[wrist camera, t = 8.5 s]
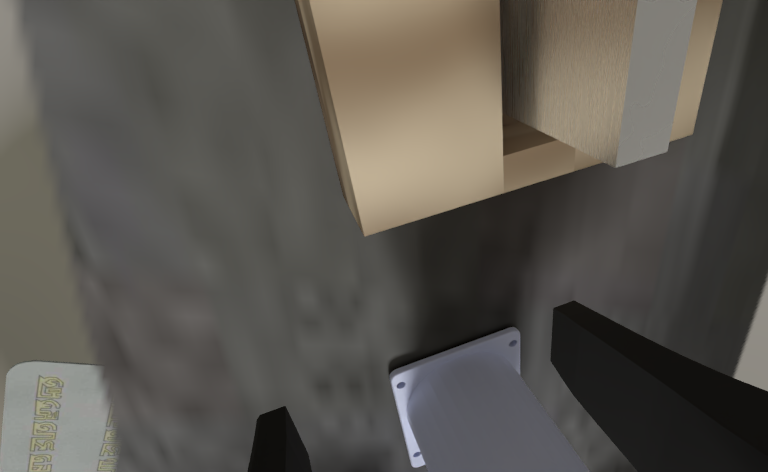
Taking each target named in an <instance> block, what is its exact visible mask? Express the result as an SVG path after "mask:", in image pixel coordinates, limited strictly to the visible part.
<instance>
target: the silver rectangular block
mask: <svg viewBox="0 0 768 472" xmlns="http://www.w3.org/2000/svg"><path fill="white" fill-rule="evenodd" d="M696 5H697V0H500V39H501V84H502V113H504V114H506V115H508V116H510V117H512V118H514V119H516V120H518V121H520V122H522V123H524V124H526V125H529V126H531V127H533V128H535V129H537V130H539V131H541V132H543V133H545V134H547V135H549V136H551V137H553V138H555V139H557V140H559V141H561V142H563V143H566V144H568V145H570V146H572V147H574V148H576V149H578V150H580V151H582V152H584V153H586V154H588V155H590V156H592V157H594V158H596V159H598V160H600V161H602V162H605V163H607V164H609V165H611V166H613V167H615V168H617V167H620V166H623V165H626V164H629V163H633V162H636V161H639V160H642V159H645V158H649V157H652V156H655V155H658V154H661V153H665V152H667V151H668V146H669V141H670V135H671V130H672V125H673V120H674V115H675V110H676V105H677V100H678V95H679V90H680V85H681V80H682V75H683V70H684V65H685V60H686V55H687V50H688V45H689V40H690V35H691V30H692V25H693V20H694V15H695V10H696Z"/></svg>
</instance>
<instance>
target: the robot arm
mask: <svg viewBox="0 0 768 472" xmlns="http://www.w3.org/2000/svg"><path fill="white" fill-rule="evenodd" d="M551 362H552V364H553V365H554V367H555V368H556V370H557V371H558V373H559V374H560V376H561V378H562V379H563V381H564V382H565V384H566V385H567V386H568V388H569V389H570V391H571V392H572V394H573V395H574V396H575V398H576V399H577V400H578V401H579V402H580V404H581V405H582V406H583V407H584V408H585V410H586V411H587V412H588V413H589V414H590V416H591V417H592V418H593V419H594V420H595V422H596V423H597V424H598V425H599V426H600V427H601V429H602V430H603V431H604V432H605V433H606V435H607V436H608V437H609V438H610V439H611V440H612V442H613V443H614V444H615V445H616V446H617V447H618V449H619V450H620V451H621V452H622V453H623V455H624V456H625V457H626V458H627V459H628V460H629V462H630V463H631V464H632V465H633V466H634V468H635V469H636V470H637V471H638V472H768V391H765V390H762V389H760V388H757V387H755V386H752V385H750V384H747V383H744V382H742V381H739V380H737V379H734V378H732V377H730V376H727V375H725V374H722V373H720V372H718V371H715V370H713V369H711V368H709V367H706V366H704V365H702V364H700V363H697V362H695V361H693V360H691V359H688V358H686V357H684V356H682V355H680V354H678V353H676V352H674V351H671V350H669V349H667V348H665V347H663V346H661V345H659V344H657V343H655V342H653V341H651V340H649V339H647V338H645V337H643V336H641V335H639V334H637V333H635V332H633V331H631V330H629V329H627V328H626V327H624V326H622V325H620V324H618V323H616V322H614V321H612V320H610V319H608V318H606V317H605V316H603V315H601V314H599V313H597V312H595V311H593V310H591V309H589V308H587V307H585V306H584V305H582V304H580V303H578V302H576V301H572V302H569V303H566V304H563V305H561V306H558V307H555V308H554V309H553V327H552V345H551ZM389 378H390V382H391V386H392V390H393V394H394V398H395V402H396V407H397V411H398V415H399V419H400V423H401V427H402V431H403V435H404V439H405V443H406V447H407V451H408V455H409V459H410V462H411V465H412V466H413V467H420V466H423V465H426V467H427V470H428V472H590V471H589V469H588V468H587V467H586V465H585V464H584V463H583V461H582V460H581V458H580V457H579V456H578V454H577V453H576V452H575V450H574V449H573V448H572V446H571V445H570V443H569V442H568V441H567V439H566V438H565V437H564V435H563V434H562V432H561V431H560V430H559V428H558V427H557V426H556V424H555V423H554V422H553V420H552V419H551V417H550V416H549V415H548V413H547V412H546V411H545V409H544V408H543V407H542V405H541V404H540V402H539V401H538V400H537V398H536V397H535V396H534V394H533V393H532V391H531V390H530V389H529V387H528V386H527V385H526V383H525V382H524V381H523V379H522V378H521V376H520V332H519V331H518V329H517V328H515V327H510V328H507V329H504V330H501V331H499V332H496V333H493V334H490V335H488V336H485V337H482V338H479V339H477V340H474V341H471V342H468V343H466V344H463V345H460V346H458V347H455V348H452V349H449V350H447V351H444V352H441V353H438V354H436V355H433V356H430V357H428V358H425V359H422V360H419V361H417V362H414V363H411V364H408V365H406V366H403V367H400V368H397V369H395V370H393V371H392V372H391V374H390V375H389ZM248 472H312V470H311V465H310V460H309V456H308V453H307V451H306V448H305V446H304V444H303V442H302V440H301V438H300V436H299V434H298V432H297V429H296V427H295V425H294V423H293V421H292V419H291V417H290V415H289V412H288V410H287V408H286V406H284V407H281V408H278V409H276V410H273V411H270V412H267V413H265V414H262V415H260V416H259V418H258V419H257V423H256V430H255V436H254V442H253V448H252V453H251V458H250V463H249V467H248Z"/></svg>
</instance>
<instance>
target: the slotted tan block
mask: <svg viewBox="0 0 768 472" xmlns="http://www.w3.org/2000/svg"><path fill="white" fill-rule="evenodd" d="M722 2H723V0H697V5H696V10H695V15H694V20H693V25H692V30H691V35H690V40H689V45H688V50H687V55H686V60H685V65H684V70H683V75H682V80H681V85H680V90H679V95H678V100H677V105H676V110H675V115H674V120H673V125H672V130H671V135H670V141H673V140H676V139H679V138H683V137H686V136H689V135H692V134H693V130H694V126H695V121H696V117H697V113H698V108H699V104H700V99H701V95H702V90H703V86H704V81H705V77H706V73H707V68H708V64H709V59H710V55H711V50H712V46H713V41H714V37H715V33H716V28H717V24H718V19H719V15H720V10H721V6H722ZM295 4H296V8H297V12H298V16H299V20H300V24H301V28H302V32H303V36H304V40H305V44H306V48H307V52H308V56H309V60H310V64H311V68H312V72H313V76H314V80H315V84H316V88H317V92H318V96H319V100H320V104H321V108H322V112H323V116H324V120H325V124H326V128H327V132H328V136H329V140H330V144H331V148H332V152H333V156H334V160H335V164H336V168H337V172H338V176H339V180H340V184H341V188H342V192H343V196H344V198H345V200H346V202H347V204H348V206H349V208H350V210H351V212H352V214H353V215H354V217H355V219H356V221H357V223H358V225H359V227H360V229H361V231H362V233H363V235H364V237H365V236H368V235H371V234H374V233H378V232H381V231H384V230H387V229H390V228H394V227H397V226H400V225H403V224H406V223H410V222H413V221H416V220H419V219H423V218H426V217H429V216H432V215H435V214H439V213H442V212H445V211H448V210H451V209H455V208H458V207H461V206H464V205H467V204H471V203H474V202H477V201H480V200H484V199H487V198H490V197H493V196H496V195H500V194H503V193H506V192H509V191H512V190H516V189H519V188H522V187H525V186H529V185H532V184H535V183H538V182H541V181H545V180H548V179H551V178H554V177H557V176H561V175H564V174H567V173H570V172H573V171H577V170H580V169H583V168H586V167H590V166H593V165H596V164H599V163H602V161H600V160H598V159H596V158H594V157H592V156H590V155H588V154H586V153H584V152H582V151H580V150H578V149H576V148H574V147H572V146H570V145H568V144H566V143H563V142H561V141H559V140H557V139H555V138H553V137H551V136H549V135H547V134H545V133H543V132H541V131H539V130H537V129H535V128H533V127H531V126H529V125H526V124H524V123H522V122H520V121H518V120H516V119H514V118H512V117H510V116H508V115H506V114H504V113H502V84H501V39H500V0H295ZM670 141H669V142H670Z"/></svg>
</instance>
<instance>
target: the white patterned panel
mask: <svg viewBox="0 0 768 472" xmlns="http://www.w3.org/2000/svg"><path fill="white" fill-rule="evenodd" d="M114 466H115V450H114V446H113V428H112V425H111V423H110V417H109V408H108V405H107V404H106V400H105V391H104V388H103V386H102V384H101V381H100V375H99V371H98V369H97V367H96V365H95V364H86V363H72V362H57V361H42V360H31V361H24V362H20V363H17V364H16V365H14V366H13V367H11V369H10V370H9V372H8V373H7V374H6V386H5V398H4V411H3V422H2V434H1V448H0V472H114Z"/></svg>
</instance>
